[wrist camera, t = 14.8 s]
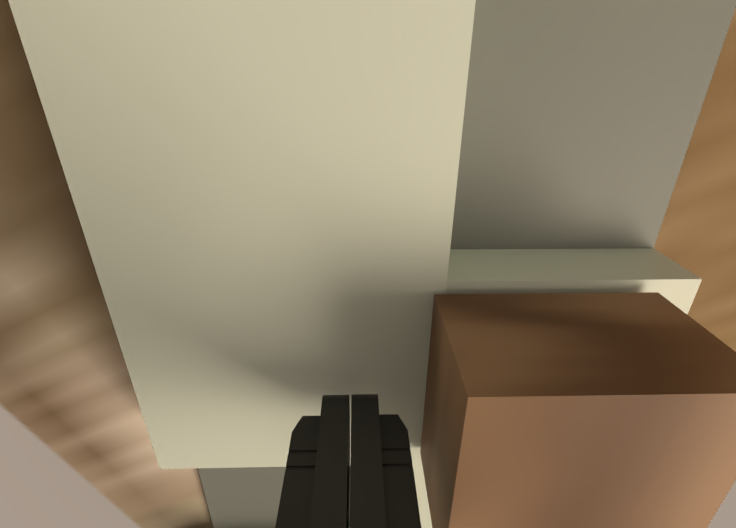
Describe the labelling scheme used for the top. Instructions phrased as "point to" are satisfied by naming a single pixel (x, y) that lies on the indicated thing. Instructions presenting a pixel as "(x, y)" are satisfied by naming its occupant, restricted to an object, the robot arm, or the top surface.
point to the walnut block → (575, 413)
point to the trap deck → (352, 190)
